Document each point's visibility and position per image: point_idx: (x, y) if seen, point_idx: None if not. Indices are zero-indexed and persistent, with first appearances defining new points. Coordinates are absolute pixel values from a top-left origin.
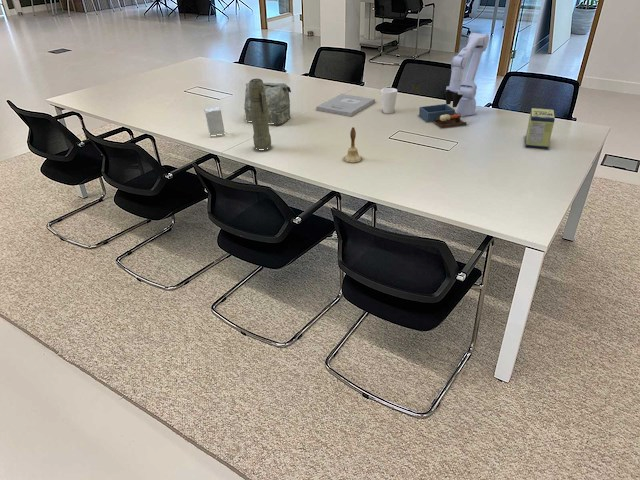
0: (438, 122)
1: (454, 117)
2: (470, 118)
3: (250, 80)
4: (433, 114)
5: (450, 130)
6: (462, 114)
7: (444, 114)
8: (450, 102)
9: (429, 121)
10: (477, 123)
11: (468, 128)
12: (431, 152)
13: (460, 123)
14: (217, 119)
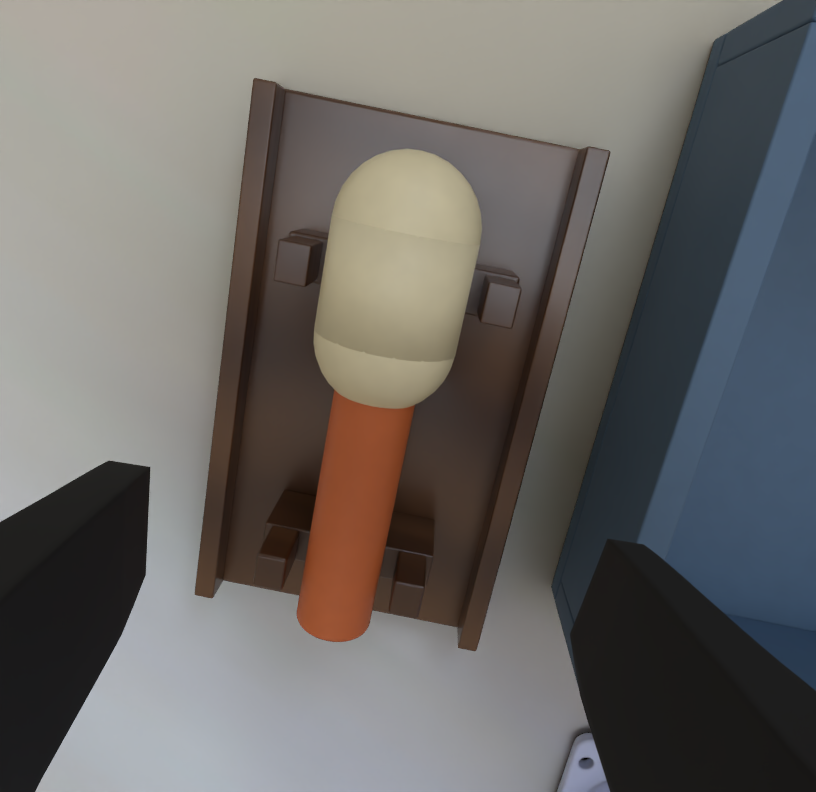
0: (507, 194)
1: (320, 475)
2: (427, 782)
3: None
4: (737, 170)
5: (99, 176)
6: (598, 786)
7: (634, 449)
8: (585, 690)
9: (701, 93)
10: (202, 730)
11: None
12: None
13: (210, 483)
14: None
